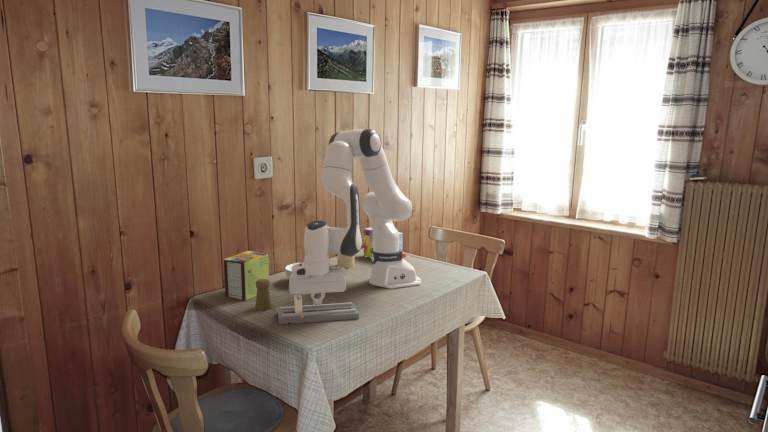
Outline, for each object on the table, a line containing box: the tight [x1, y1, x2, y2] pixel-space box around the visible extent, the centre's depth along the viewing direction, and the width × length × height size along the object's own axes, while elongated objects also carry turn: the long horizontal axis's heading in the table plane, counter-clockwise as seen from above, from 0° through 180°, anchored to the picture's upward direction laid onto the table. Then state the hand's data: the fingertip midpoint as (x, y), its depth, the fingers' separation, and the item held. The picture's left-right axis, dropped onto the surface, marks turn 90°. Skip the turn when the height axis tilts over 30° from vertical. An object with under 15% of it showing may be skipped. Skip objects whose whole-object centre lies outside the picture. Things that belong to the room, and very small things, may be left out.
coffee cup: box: [336, 254, 356, 269], centre depth 256 cm, size 9×9×12 cm
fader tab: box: [293, 294, 303, 313], centre depth 192 cm, size 2×5×5 cm, turn 13°
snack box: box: [363, 226, 404, 257], centre depth 269 cm, size 21×6×15 cm, turn 52°
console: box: [277, 301, 360, 325], centre depth 194 cm, size 28×11×3 cm, turn 103°
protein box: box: [223, 250, 270, 301], centre depth 216 cm, size 10×15×16 cm
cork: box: [254, 279, 273, 312], centre depth 200 cm, size 6×6×11 cm
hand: (317, 304), depth 194 cm, fingers closed
